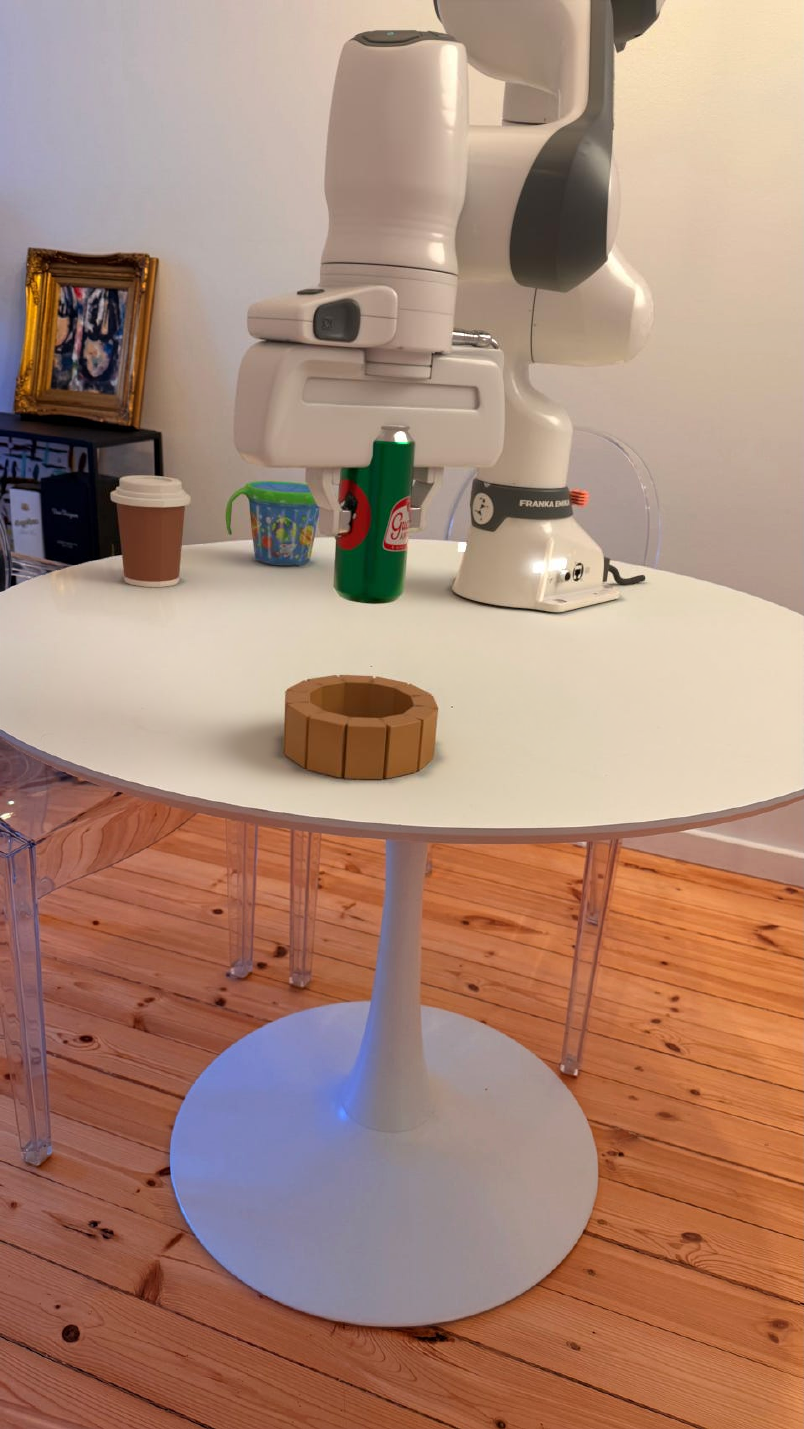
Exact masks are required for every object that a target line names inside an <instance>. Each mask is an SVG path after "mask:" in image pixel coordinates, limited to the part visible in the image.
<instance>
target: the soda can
mask: <svg viewBox="0 0 804 1429" xmlns="http://www.w3.org/2000/svg"><path fill="white" fill-rule="evenodd" d="M381 429H383V431H382V432H381V433H380V435H379V436H378V437H377V438H376V439H375V441H374V442H373V457H372V459H371V462H370V465H369V466H367V467H364V468H341V471H340V483H339V484H338V492H337V493H338V494H337V499H338V502H339V505H340V507H341V508H344V509H348V510H351V521H350V522H349V525H350V533H349V535H345V536H336V539H335V550H334V565H333V566H334V567H333V568H334V569H333V589H334V590H335V592H336V594H337V595H338V596H339V597H340V598H342V599H344V600H346V601H349V602H354V603H358V604H359V603H360V604H366V605H367V604H368V605H383V604H391V603H394V602H396V601H398V600H399V598H400V597H402V596H403V594H404V593H405V586H406V574H407V560H408V548H409V536H410V532H409V525H410V512H411V500H412V487H413V485H414V480H413V474H414V455H415V441H414V440H413V438H412V437H411V435H410V434H409V433H408V430H409V429H410V427H409V426H390V425H382V426H381Z"/></svg>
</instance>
